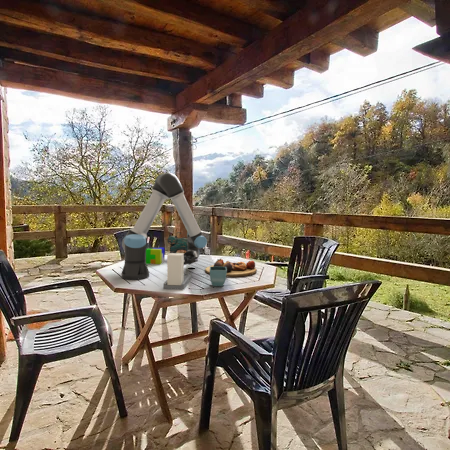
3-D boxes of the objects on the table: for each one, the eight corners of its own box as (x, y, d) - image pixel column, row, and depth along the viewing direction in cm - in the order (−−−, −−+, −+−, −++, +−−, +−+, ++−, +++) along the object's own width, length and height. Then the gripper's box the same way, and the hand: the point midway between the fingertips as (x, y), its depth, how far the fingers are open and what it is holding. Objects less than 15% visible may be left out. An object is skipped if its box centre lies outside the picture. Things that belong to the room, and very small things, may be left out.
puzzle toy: (164, 261, 224) (164, 247, 223) (160, 264, 214) (160, 249, 213) (150, 261, 225) (150, 247, 224) (145, 263, 215) (145, 249, 214)
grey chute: (163, 288, 157) (163, 283, 156) (174, 276, 180) (174, 272, 180) (183, 289, 156) (184, 284, 156) (192, 277, 180) (192, 272, 180)
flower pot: (226, 283, 169) (226, 266, 169) (226, 287, 161) (226, 270, 160) (209, 282, 169) (209, 266, 168) (209, 287, 160) (209, 270, 160)
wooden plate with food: (261, 268, 207) (261, 256, 207) (249, 279, 177) (250, 265, 177) (215, 265, 217) (215, 253, 217) (197, 275, 187) (196, 262, 186)
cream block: (167, 284, 157) (167, 255, 156) (170, 281, 163) (170, 253, 162) (181, 285, 157) (181, 255, 156) (183, 282, 163) (183, 253, 162)
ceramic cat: (167, 259, 233) (167, 232, 231) (169, 257, 239) (169, 231, 237) (193, 260, 230) (193, 232, 229) (195, 258, 237) (195, 232, 235)
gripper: (200, 263, 196) (192, 271, 172) (179, 262, 197) (169, 270, 174) (200, 251, 195) (192, 258, 172) (179, 250, 196) (169, 257, 173)
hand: (180, 264), depth 173 cm, fingers closed
